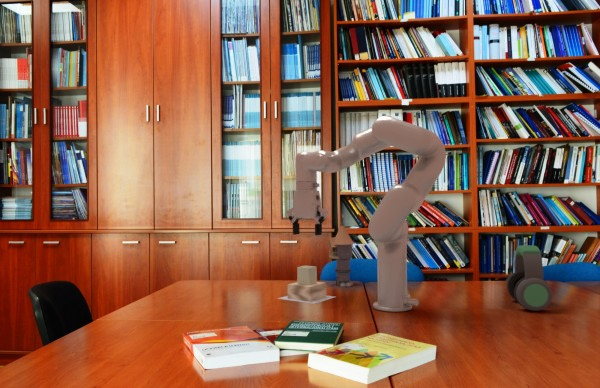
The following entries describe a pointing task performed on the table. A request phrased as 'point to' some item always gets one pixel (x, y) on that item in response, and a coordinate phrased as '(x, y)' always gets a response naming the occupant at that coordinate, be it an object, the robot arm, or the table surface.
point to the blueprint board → (308, 301)
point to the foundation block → (306, 291)
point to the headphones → (529, 280)
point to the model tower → (341, 255)
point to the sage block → (307, 275)
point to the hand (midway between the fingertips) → (307, 234)
